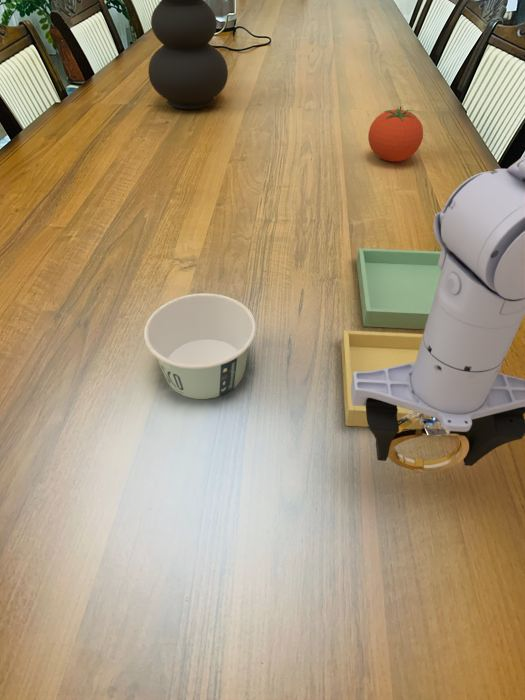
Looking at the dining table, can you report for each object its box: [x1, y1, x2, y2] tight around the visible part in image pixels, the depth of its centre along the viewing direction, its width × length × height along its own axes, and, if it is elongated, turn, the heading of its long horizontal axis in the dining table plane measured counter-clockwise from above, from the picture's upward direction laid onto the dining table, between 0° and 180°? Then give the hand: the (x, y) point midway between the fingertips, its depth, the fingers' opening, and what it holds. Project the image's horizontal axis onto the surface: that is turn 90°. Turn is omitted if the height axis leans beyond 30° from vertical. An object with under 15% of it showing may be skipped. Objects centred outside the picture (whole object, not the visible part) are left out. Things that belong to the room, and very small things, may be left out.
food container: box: [143, 292, 257, 400], centre depth 57 cm, size 12×12×6 cm
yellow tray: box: [340, 329, 439, 430], centre depth 56 cm, size 12×12×3 cm
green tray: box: [356, 247, 442, 330], centre depth 68 cm, size 14×14×3 cm
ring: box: [387, 411, 469, 474], centre depth 45 cm, size 7×3×8 cm, turn 80°
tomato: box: [367, 106, 424, 163], centre depth 98 cm, size 10×10×10 cm
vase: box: [148, 0, 229, 110], centre depth 112 cm, size 18×18×35 cm
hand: (422, 453), depth 46 cm, fingers closed on ring, 7 cm apart
